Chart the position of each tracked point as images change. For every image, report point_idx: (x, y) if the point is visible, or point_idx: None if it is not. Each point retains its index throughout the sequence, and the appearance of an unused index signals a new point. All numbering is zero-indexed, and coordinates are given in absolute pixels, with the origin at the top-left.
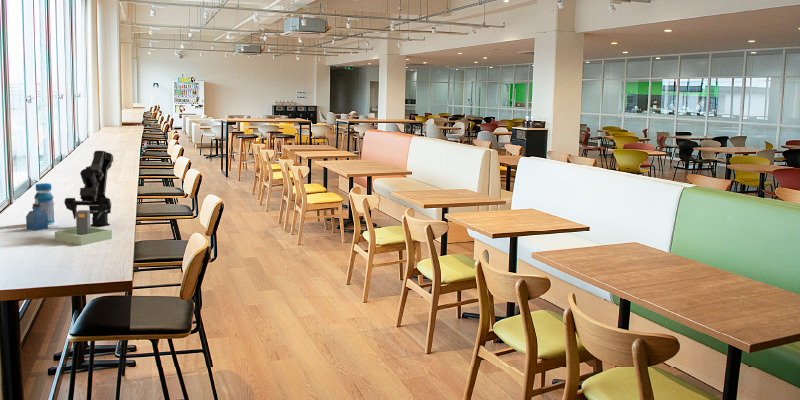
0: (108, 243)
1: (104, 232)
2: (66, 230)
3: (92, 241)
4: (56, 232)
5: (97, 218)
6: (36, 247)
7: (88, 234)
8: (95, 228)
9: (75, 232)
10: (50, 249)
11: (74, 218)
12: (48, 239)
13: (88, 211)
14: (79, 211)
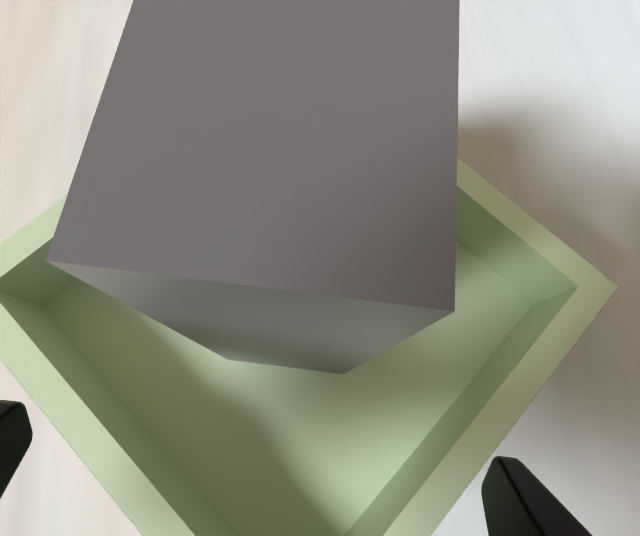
0: (80, 114)
1: (53, 214)
2: (511, 370)
3: None
4: (589, 265)
5: (3, 429)
6: (603, 85)
7: None
8: (145, 473)
9: (410, 473)
10: (485, 12)
11: (497, 462)
12: (635, 389)
13: (114, 78)
14: (383, 62)
